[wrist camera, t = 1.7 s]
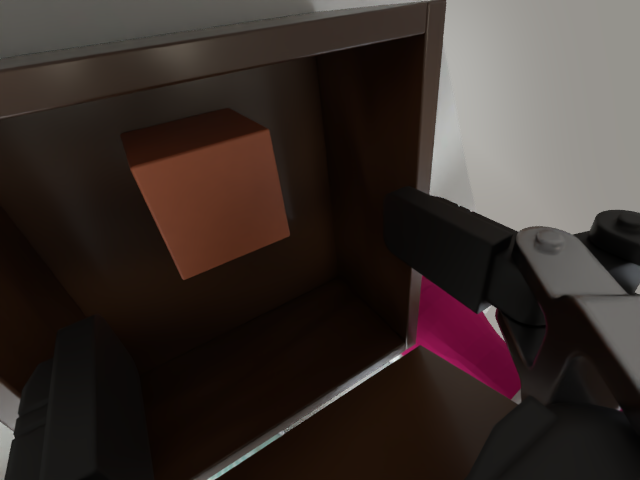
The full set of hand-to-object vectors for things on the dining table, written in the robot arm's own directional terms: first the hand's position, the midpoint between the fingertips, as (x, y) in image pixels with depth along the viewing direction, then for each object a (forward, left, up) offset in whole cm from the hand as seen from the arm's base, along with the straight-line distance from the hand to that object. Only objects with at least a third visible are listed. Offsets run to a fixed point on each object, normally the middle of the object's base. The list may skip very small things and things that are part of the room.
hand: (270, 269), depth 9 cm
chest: (+3, 0, -9) cm, 10 cm away
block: (0, 0, -9) cm, 9 cm away
